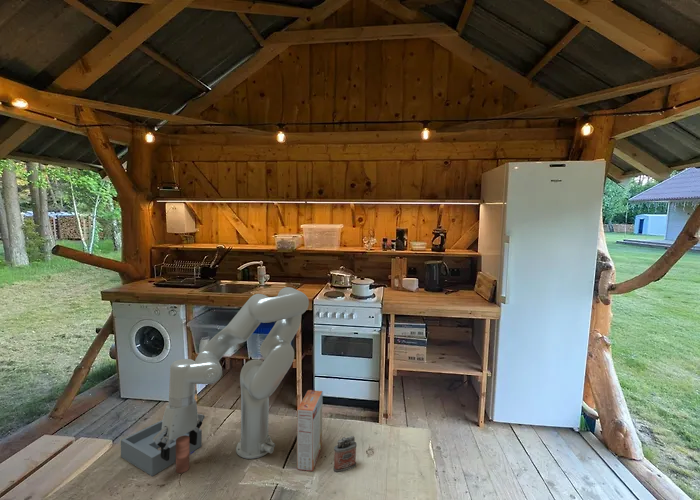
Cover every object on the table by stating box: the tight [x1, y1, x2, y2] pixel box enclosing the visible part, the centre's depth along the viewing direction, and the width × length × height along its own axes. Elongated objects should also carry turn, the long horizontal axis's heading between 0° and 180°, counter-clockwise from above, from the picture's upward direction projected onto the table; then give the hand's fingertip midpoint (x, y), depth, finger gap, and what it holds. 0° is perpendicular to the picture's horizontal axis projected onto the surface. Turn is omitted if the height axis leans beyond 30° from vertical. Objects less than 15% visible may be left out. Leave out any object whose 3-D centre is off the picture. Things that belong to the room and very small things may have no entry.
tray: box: [120, 419, 203, 477], centre depth 119 cm, size 18×18×6 cm
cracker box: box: [296, 389, 324, 472], centre depth 118 cm, size 14×6×21 cm, turn 172°
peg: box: [175, 435, 190, 474], centre depth 111 cm, size 4×4×10 cm
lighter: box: [333, 435, 357, 474], centre depth 114 cm, size 8×3×10 cm, turn 117°
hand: (179, 451), depth 110 cm, fingers open, 9 cm apart
